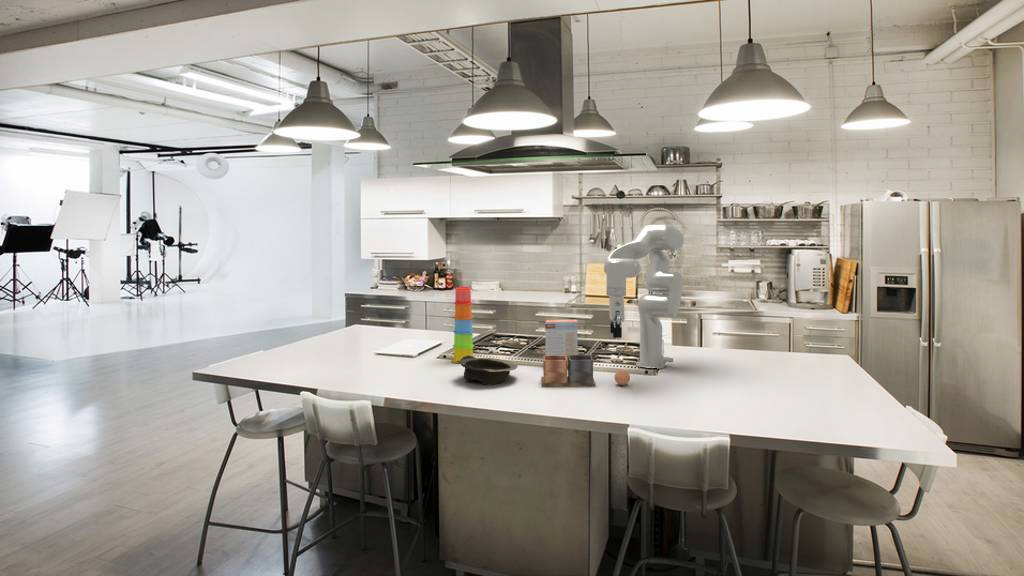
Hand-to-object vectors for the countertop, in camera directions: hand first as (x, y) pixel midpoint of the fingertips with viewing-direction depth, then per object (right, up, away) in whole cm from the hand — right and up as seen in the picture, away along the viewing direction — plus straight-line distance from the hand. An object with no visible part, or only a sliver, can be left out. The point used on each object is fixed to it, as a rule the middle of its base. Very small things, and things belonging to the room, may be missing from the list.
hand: (615, 335), depth 238 cm
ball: (+2, -16, 0) cm, 17 cm away
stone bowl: (-50, -19, +12) cm, 55 cm away
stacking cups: (-63, -16, +45) cm, 79 cm away
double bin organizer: (-18, -19, +5) cm, 27 cm away
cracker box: (-19, -17, +31) cm, 40 cm away
